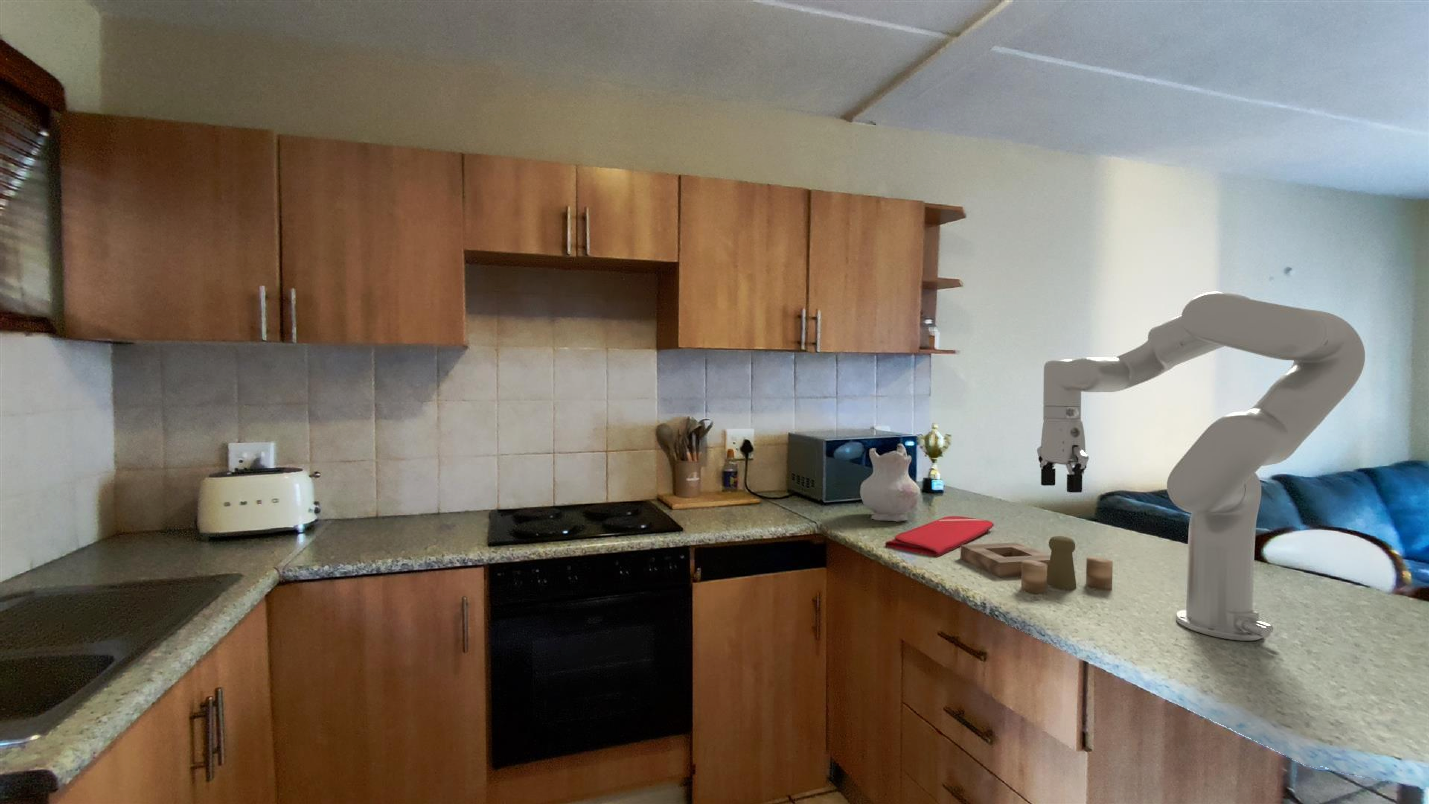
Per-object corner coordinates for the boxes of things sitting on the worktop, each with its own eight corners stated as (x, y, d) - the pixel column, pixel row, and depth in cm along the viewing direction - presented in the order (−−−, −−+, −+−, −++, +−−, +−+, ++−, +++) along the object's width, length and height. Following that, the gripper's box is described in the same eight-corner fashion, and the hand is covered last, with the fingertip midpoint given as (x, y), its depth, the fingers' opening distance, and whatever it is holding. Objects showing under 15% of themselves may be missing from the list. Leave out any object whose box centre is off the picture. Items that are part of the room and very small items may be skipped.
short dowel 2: (1117, 589, 136) (1118, 562, 136) (1098, 590, 135) (1098, 563, 135) (1099, 582, 141) (1100, 556, 141) (1080, 583, 140) (1081, 557, 140)
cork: (1080, 590, 135) (1082, 541, 135) (1050, 588, 136) (1051, 539, 136) (1070, 582, 141) (1071, 534, 141) (1042, 580, 142) (1043, 533, 142)
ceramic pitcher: (870, 512, 223) (865, 443, 223) (926, 513, 214) (921, 441, 214) (856, 524, 203) (851, 449, 203) (917, 526, 195) (912, 447, 195)
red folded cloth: (883, 548, 172) (883, 534, 172) (945, 524, 201) (945, 513, 201) (938, 559, 161) (938, 545, 161) (995, 532, 190) (995, 520, 190)
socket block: (1059, 573, 147) (1060, 559, 147) (999, 577, 144) (1000, 562, 144) (1015, 555, 163) (1015, 542, 163) (960, 558, 160) (960, 545, 160)
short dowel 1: (1052, 593, 133) (1052, 566, 133) (1031, 595, 132) (1032, 567, 132) (1035, 586, 138) (1036, 559, 138) (1016, 587, 137) (1016, 560, 137)
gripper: (1103, 415, 132) (1102, 495, 133) (1054, 412, 150) (1053, 482, 150) (1069, 415, 132) (1068, 495, 132) (1024, 412, 149) (1023, 483, 149)
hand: (1060, 488), depth 141 cm, fingers open, 9 cm apart
